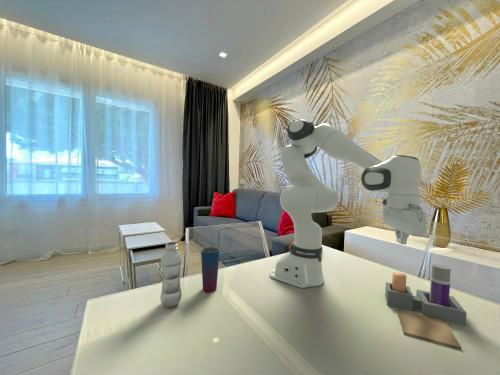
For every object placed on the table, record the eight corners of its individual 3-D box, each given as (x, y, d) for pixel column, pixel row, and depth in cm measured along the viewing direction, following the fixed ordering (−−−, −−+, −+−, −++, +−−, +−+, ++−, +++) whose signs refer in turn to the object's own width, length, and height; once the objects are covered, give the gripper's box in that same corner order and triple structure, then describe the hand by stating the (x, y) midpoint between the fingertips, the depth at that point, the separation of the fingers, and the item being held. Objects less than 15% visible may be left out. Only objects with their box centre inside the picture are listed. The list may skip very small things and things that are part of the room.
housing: (387, 307, 74) (388, 292, 73) (384, 293, 82) (385, 280, 82) (465, 325, 65) (466, 309, 65) (452, 308, 74) (453, 293, 74)
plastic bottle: (186, 301, 74) (186, 242, 73) (170, 312, 68) (171, 248, 67) (171, 296, 77) (172, 239, 76) (155, 306, 70) (156, 244, 70)
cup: (196, 291, 81) (197, 250, 80) (207, 283, 87) (207, 245, 86) (212, 295, 78) (213, 253, 77) (222, 287, 84) (223, 248, 84)
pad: (403, 333, 61) (403, 331, 61) (397, 311, 72) (397, 309, 71) (461, 349, 55) (461, 347, 55) (444, 322, 66) (445, 320, 66)
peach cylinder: (392, 298, 75) (393, 275, 75) (390, 293, 79) (391, 271, 79) (406, 301, 74) (407, 277, 73) (404, 295, 77) (405, 273, 77)
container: (451, 317, 69) (454, 270, 68) (434, 315, 70) (437, 268, 69) (442, 308, 73) (444, 264, 73) (426, 306, 74) (428, 262, 74)
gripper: (434, 206, 64) (432, 253, 65) (397, 200, 85) (395, 236, 85) (411, 206, 65) (408, 252, 66) (380, 199, 85) (378, 235, 86)
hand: (401, 243), depth 76 cm, fingers closed
